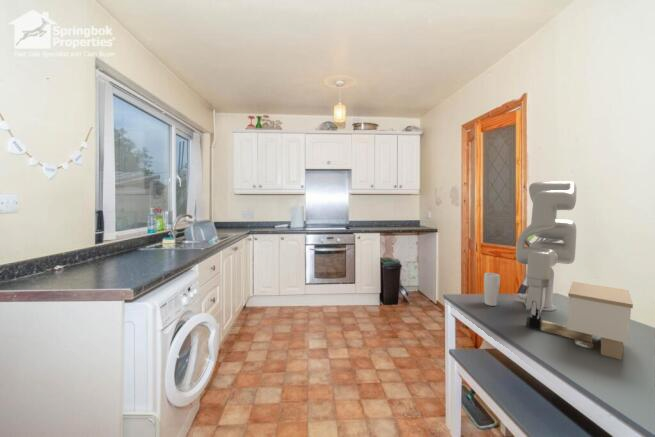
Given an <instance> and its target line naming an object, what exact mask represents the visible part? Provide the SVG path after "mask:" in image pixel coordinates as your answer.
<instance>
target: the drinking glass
mask: <svg viewBox="0 0 655 437" xmlns="http://www.w3.org/2000/svg"><path fill="white" fill-rule="evenodd" d="M483 275H484V276H483V287H484V288H483V289H484V290H483V293H484V294H483V295H484V305H486V306H490V307H491V306H492V307H496V306H497V304H498V296H499V291H500V290H499V289H500V282H501V275H500V274H499V273H495V272H485V273H484V274H483Z"/></svg>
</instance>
